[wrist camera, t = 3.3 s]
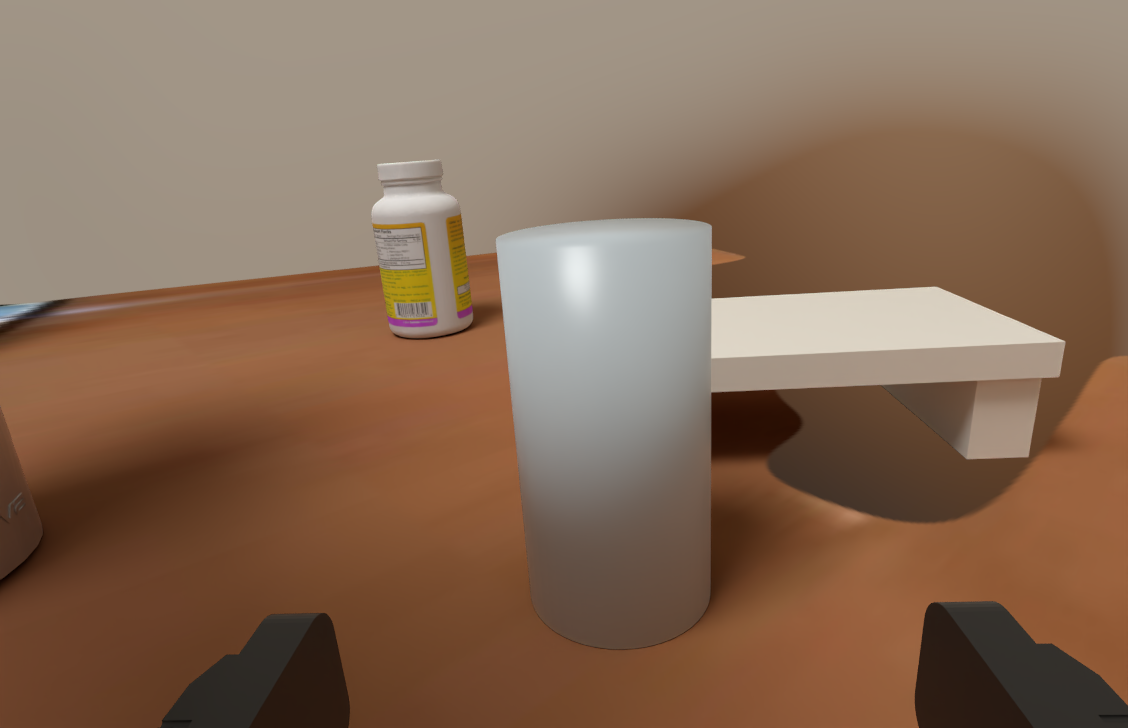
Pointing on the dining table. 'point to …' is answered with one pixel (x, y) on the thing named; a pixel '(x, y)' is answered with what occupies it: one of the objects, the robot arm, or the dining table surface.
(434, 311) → the supplement bottle
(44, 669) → the dining table surface
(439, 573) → the dining table surface
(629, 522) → the white rounded cylinder
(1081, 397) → the dining table surface
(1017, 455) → the white riser stand
